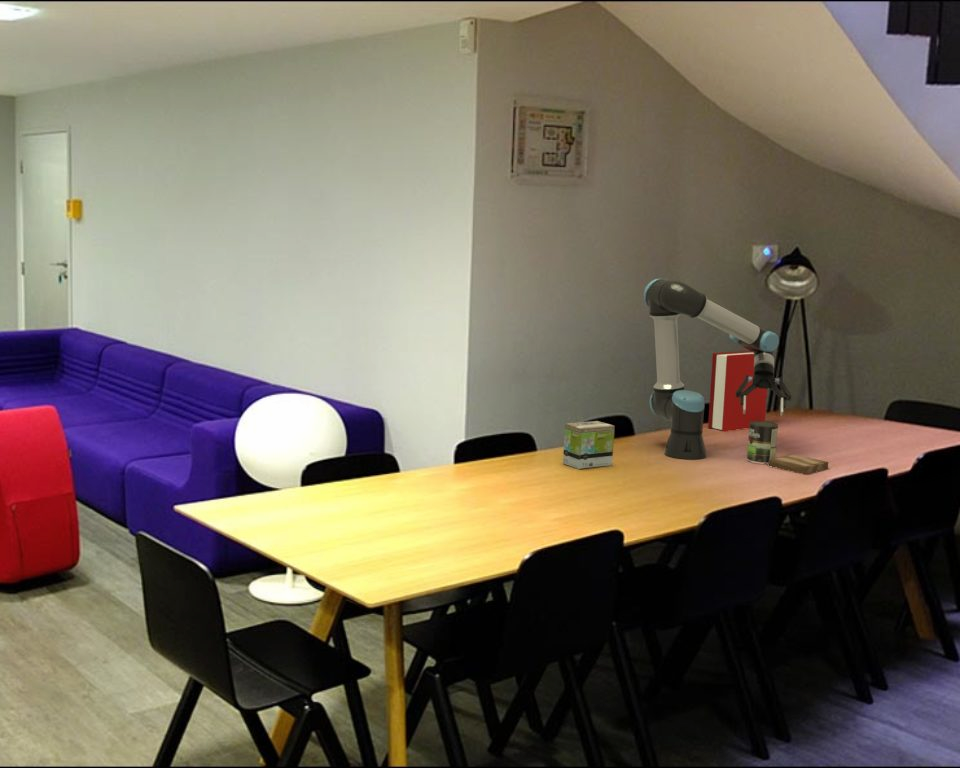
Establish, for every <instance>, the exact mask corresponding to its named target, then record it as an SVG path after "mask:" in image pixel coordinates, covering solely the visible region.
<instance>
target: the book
mask: <svg viewBox="0 0 960 768" xmlns="http://www.w3.org/2000/svg"><path fill="white" fill-rule="evenodd" d="M711 360H712V361H711V372H710V373H711V374H710V375H711V376H710V389H709V390H710V391H709V393H710V394H709V405H708V406H709V407H708V408H709V409H708V421H707V422H708V424H707V429H716V430H721V432H722V431H724V432H729V431H728V430H732V431H737V430H736V429H740V430H744V429H743V428H748V429H749V422H751V421H766V413H767V395H768V389H764V388H758V387H757V388H756V389H755V390H753V391H752V392H751V393H749V394H748V395H747V396H746V410H745V414H743V405H740V398H739V397H736V391H737V390H738V388H739V387H740V386H741V384H742V383H743V381H744V380H745V376H746V375H749V377H753V376H754V353H753V352H751V351H749V350H738V351H736V350H735V351H722V352H721V351H720V352H712V359H711ZM752 384H753V381H750V382H749V383H748V384H747V386H746V387H745V388H744V390H746V389H747V388H748V387H749V386H750V385H752ZM744 390H743V391H744ZM743 391H742V392H743Z"/></svg>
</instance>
